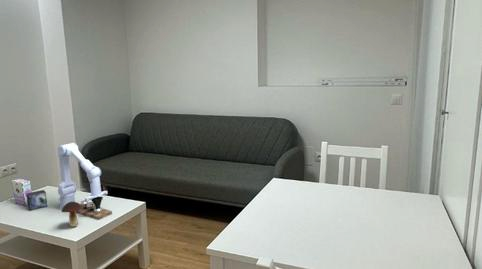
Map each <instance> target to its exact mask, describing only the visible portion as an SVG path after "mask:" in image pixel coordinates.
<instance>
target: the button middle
mask: <svg viewBox="0 0 482 269" xmlns="http://www.w3.org/2000/svg"><path fill="white" fill-rule="evenodd" d="M87 207H88V208H90V210H93V207H95V205H94V203H93V202H92V201H88V203H87Z"/></svg>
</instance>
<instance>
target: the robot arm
mask: <svg viewBox="0 0 482 269" xmlns="http://www.w3.org/2000/svg"><path fill="white" fill-rule="evenodd" d="M57 154H58V159H59V167H60V175H61V176H60V177H61V182H60V183H59V184H58V186H57V187H58V188H57V193H58V196H59V198H58V201H59V208H58V209H59V210H61V211H62V208H63V207H64V206H65V205H66V204H67V203H69V202H76V200H75V194H76V192H77V186H76V183H75V181H72V177H71V169H70V167H71V166H70V158H69V157H70V156H71V157H73V158H75V159H76V160H77V161H78V162H79V163H80V167H81V168H82V170H83V171H84V172H85V173H86V177H87V178H88V179H87V180H88V182H89V186H90V188H89V189H90V194H89V196H86V197H84V200H85V201H88V202H90V201H91V202H93V203H94V205H95V207H96V209H100V207H101V205H102V202H103V201H102V200H103V199H104V198H103V196H105V195H108V190H104V191H102V187H101V179H100V176H102V170H101V168H100V167H98V166H95V165H94V164H93V163H92V162H91V161H90V160H89V159H86V158H85V156H84V155H82V153H81V151H79V146H78V145H77V143H75V142H71V143H65V144H60V145H59V146H58V147H57Z"/></svg>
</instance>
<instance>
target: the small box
mask: <svg viewBox="0 0 482 269" xmlns="http://www.w3.org/2000/svg"><path fill="white" fill-rule="evenodd" d="M26 196H27V204H28V205H27V209H28V210H29V211H31V212H32V211H35V210H40V209H43V208H47V207H49V206H48V198H47V193H46V191H45V190H44V189H41V190H36V191H32V192H31V193H27V194H26Z"/></svg>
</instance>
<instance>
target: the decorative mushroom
mask: <svg viewBox="0 0 482 269" xmlns="http://www.w3.org/2000/svg"><path fill="white" fill-rule="evenodd" d="M82 208H83V207H82V206H81V203H79V202H76V201H75V202H69V203H67V204H66V205H65V206H64V207H63V208H62V210H61V213H69V214H68V215H69V216H68V217H69V218H68V219H69V220H68V221H69V226H70V227H71V228H77V226H78V224H79V221H78V216H77V213H76V212H75V211H78V210H80V209H82Z"/></svg>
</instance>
